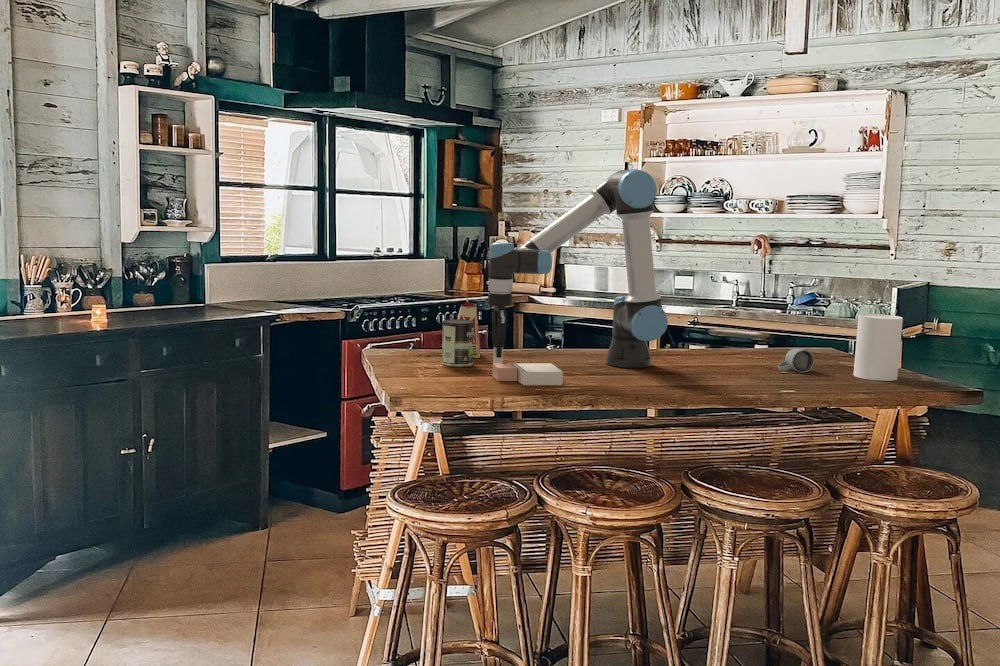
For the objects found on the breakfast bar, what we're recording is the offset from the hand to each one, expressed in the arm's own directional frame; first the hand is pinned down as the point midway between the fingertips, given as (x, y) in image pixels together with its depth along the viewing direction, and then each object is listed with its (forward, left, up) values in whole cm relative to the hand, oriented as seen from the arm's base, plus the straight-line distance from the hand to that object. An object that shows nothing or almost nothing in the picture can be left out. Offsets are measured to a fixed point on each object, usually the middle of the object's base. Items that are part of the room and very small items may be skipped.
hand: (497, 367), depth 309 cm
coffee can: (+10, -15, -2) cm, 19 cm away
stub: (0, +11, -2) cm, 11 cm away
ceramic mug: (-102, -1, -2) cm, 102 cm away
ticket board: (-10, +14, -2) cm, 17 cm away
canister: (-125, +11, -2) cm, 125 cm away
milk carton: (+4, -32, -2) cm, 33 cm away
